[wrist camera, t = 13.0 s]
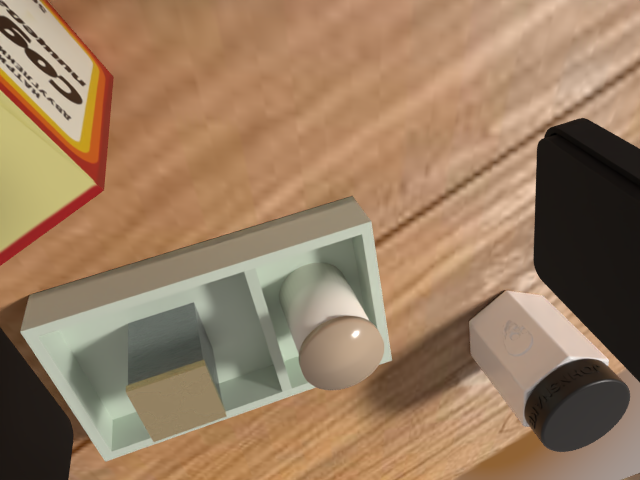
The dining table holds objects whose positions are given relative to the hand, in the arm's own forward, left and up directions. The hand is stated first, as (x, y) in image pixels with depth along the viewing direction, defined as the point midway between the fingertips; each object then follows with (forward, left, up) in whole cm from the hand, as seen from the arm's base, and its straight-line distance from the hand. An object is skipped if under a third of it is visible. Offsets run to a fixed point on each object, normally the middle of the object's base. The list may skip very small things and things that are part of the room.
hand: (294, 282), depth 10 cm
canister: (-4, +23, -27) cm, 36 cm away
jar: (-21, +35, -28) cm, 50 cm away
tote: (+4, +23, -28) cm, 36 cm away
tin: (+8, +22, -27) cm, 36 cm away
